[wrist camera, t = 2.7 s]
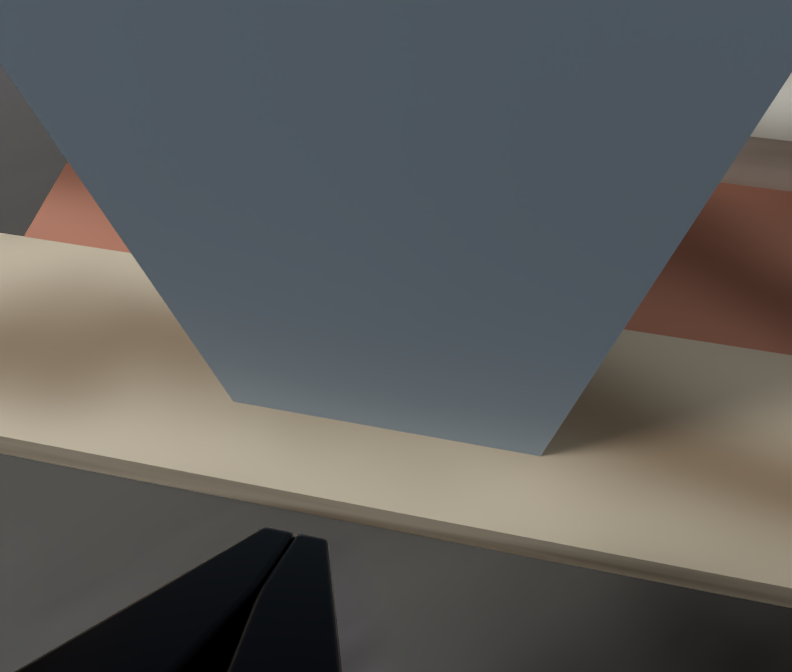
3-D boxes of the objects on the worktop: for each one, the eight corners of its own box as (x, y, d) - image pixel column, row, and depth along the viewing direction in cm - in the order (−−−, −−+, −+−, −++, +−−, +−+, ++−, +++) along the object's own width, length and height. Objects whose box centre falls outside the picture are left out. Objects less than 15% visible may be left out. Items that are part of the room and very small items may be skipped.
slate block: (540, 456, 15) (845, -9, 5) (233, 401, 16) (-112, -99, 5) (561, 206, 19) (759, -377, 8) (310, 172, 20) (194, -397, 9)
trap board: (913, 631, 15) (997, 627, 13) (-84, 436, 18) (-152, 406, 16) (802, 9, 27) (838, -50, 25) (196, -50, 30) (179, -107, 28)
